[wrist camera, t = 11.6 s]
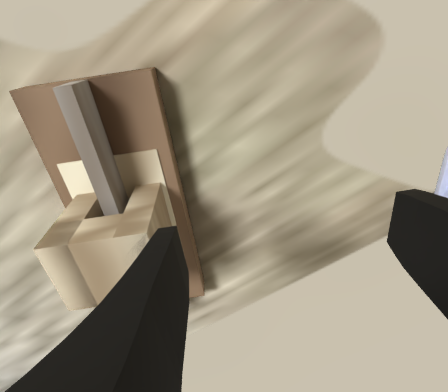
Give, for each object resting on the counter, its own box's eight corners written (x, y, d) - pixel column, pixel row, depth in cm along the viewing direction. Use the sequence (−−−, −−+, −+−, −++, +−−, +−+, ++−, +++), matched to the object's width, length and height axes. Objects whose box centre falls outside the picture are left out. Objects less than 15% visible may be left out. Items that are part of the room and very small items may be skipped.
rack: (154, 67, 15) (143, 74, 12) (204, 280, 23) (204, 319, 20) (25, 86, 15) (-20, 98, 12) (118, 293, 23) (106, 334, 20)
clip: (160, 182, 17) (146, 232, 12) (174, 236, 19) (167, 296, 14) (76, 194, 17) (32, 249, 12) (99, 247, 19) (69, 310, 14)
